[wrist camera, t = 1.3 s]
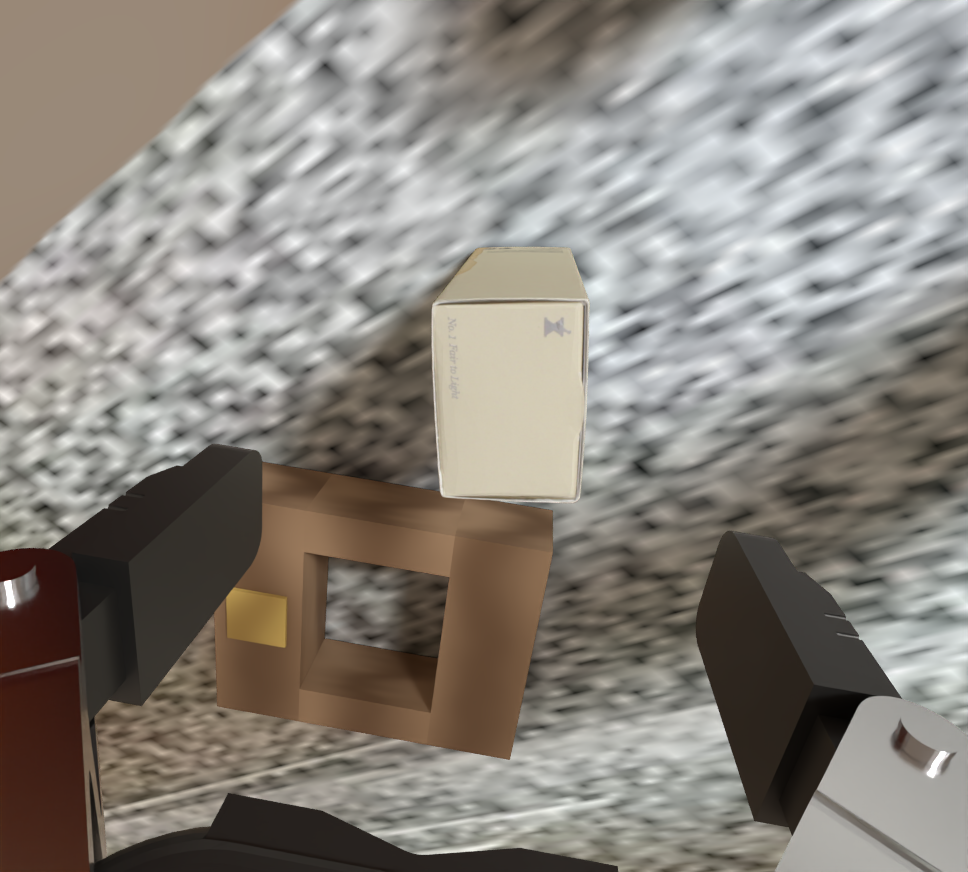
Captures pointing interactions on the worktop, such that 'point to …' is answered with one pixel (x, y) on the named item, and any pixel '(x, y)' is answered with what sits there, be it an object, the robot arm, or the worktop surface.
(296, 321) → the worktop surface
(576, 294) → the skincare box
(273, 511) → the brown square frame block
